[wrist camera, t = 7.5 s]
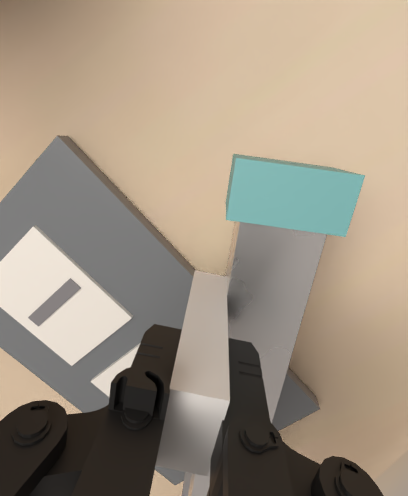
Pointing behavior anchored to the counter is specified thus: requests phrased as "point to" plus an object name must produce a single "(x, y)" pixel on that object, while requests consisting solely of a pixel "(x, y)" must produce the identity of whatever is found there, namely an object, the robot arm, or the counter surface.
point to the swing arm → (278, 256)
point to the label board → (92, 284)
